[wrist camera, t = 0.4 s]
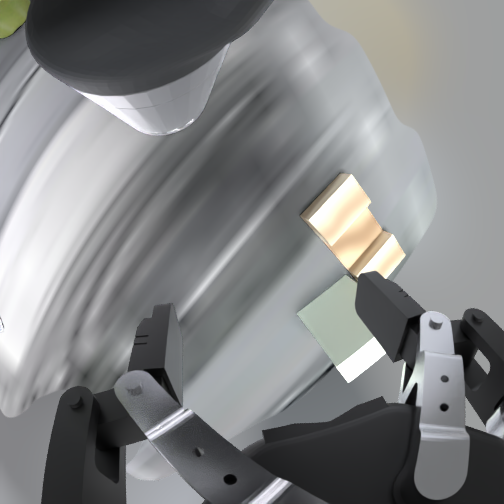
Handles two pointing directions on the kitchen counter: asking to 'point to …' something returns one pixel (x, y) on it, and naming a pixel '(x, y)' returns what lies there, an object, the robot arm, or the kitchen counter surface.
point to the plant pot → (12, 15)
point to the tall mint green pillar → (341, 329)
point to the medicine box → (1, 326)
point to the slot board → (352, 229)
